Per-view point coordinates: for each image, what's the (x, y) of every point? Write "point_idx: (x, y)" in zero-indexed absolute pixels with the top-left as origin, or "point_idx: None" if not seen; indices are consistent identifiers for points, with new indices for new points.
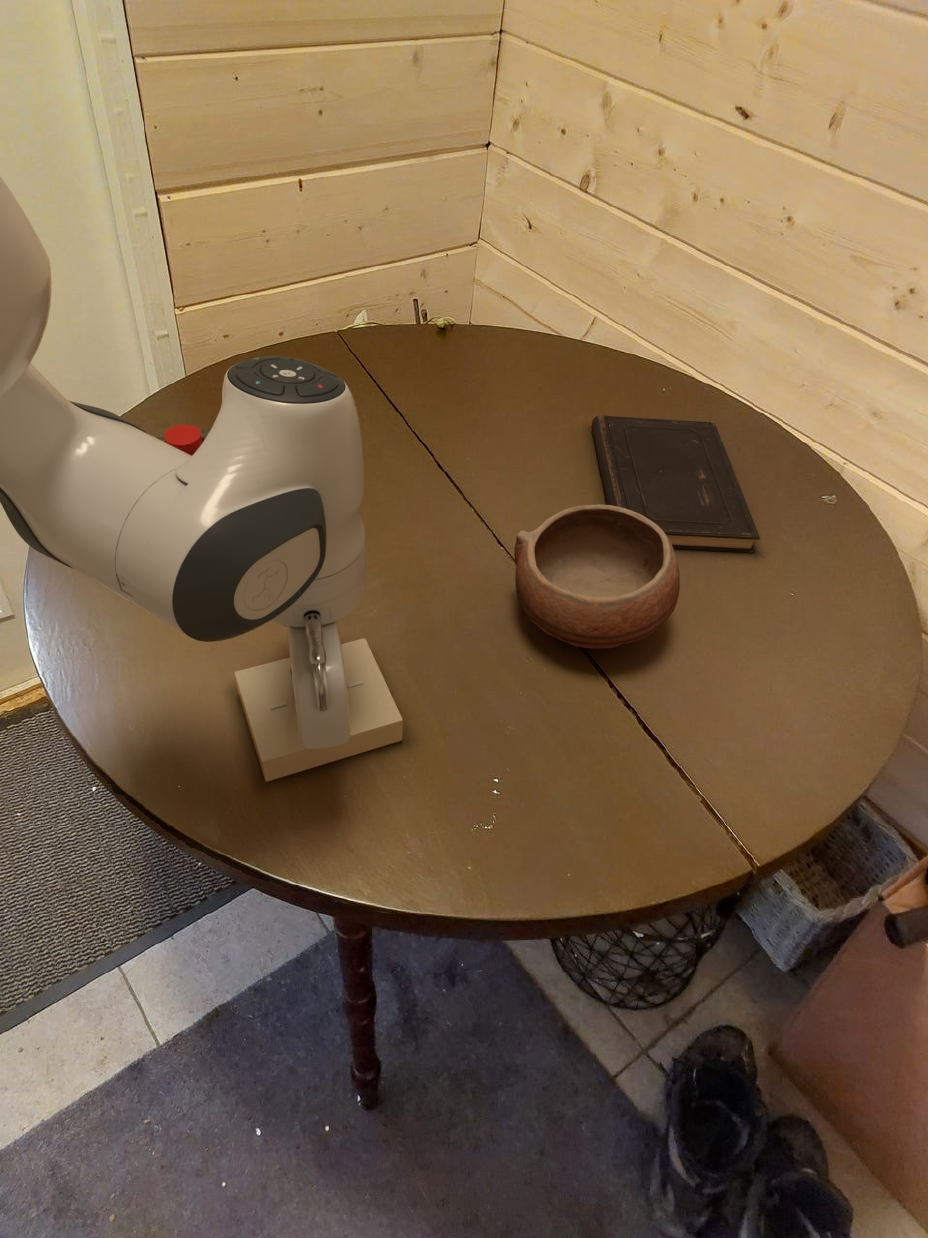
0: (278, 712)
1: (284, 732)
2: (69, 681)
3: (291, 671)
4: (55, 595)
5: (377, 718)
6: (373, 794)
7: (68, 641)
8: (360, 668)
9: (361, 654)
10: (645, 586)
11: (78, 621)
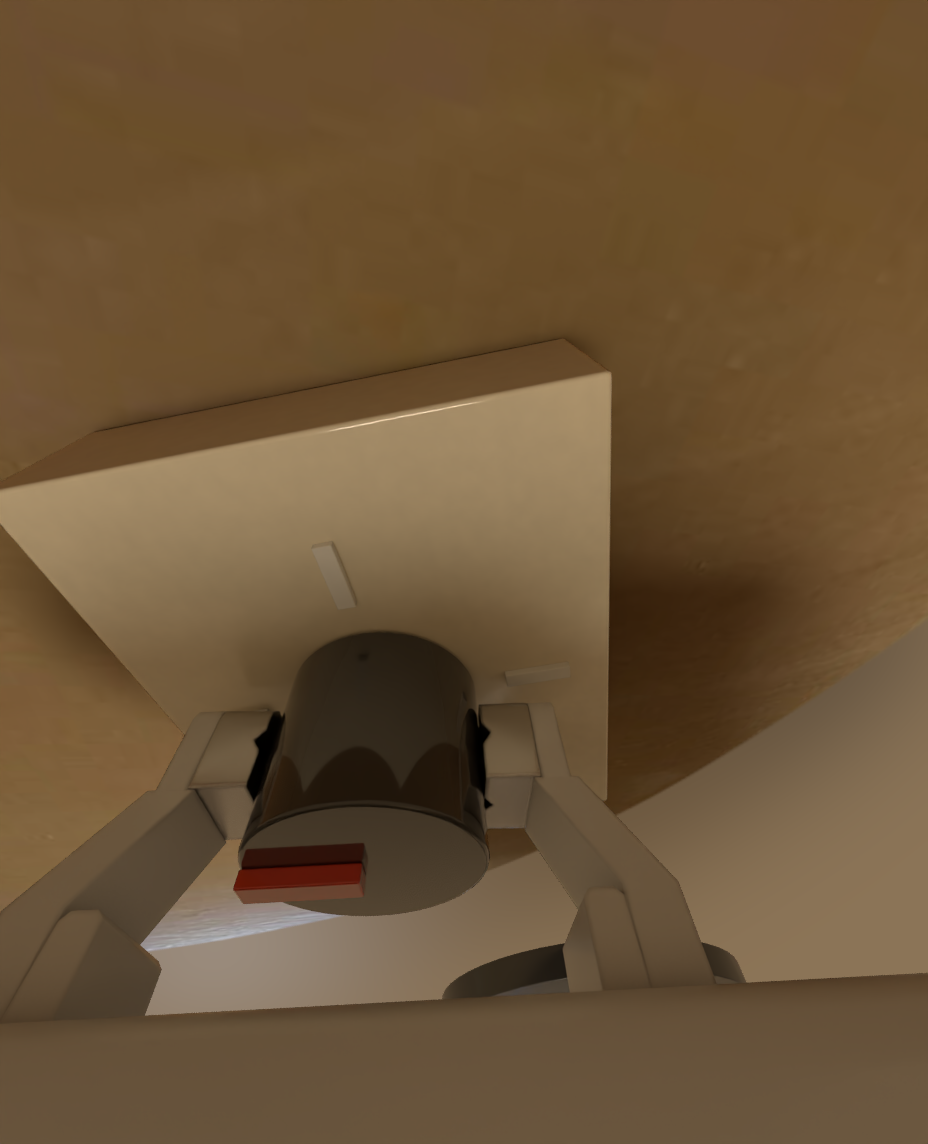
0: None
1: None
2: (283, 917)
3: (378, 914)
4: None
5: (559, 503)
6: (744, 486)
7: (191, 926)
8: (224, 541)
9: (119, 528)
10: None
11: None
